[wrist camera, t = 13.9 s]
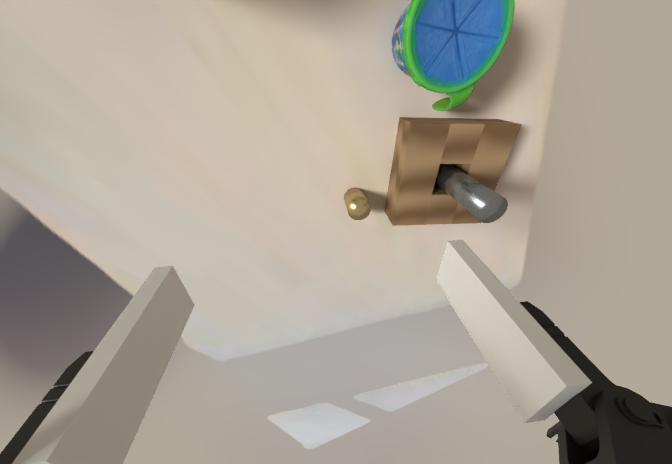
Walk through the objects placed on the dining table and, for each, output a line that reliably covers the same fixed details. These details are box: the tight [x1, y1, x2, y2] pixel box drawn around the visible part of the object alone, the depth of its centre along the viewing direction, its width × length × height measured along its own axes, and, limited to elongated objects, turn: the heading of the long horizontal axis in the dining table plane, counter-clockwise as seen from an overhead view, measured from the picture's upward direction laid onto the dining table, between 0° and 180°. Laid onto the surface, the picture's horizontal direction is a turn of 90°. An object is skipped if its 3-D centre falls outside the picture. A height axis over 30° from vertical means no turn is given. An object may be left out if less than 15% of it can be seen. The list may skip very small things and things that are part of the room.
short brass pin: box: [344, 188, 370, 220], centre depth 41 cm, size 4×4×5 cm
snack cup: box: [392, 0, 514, 111], centre depth 27 cm, size 16×10×10 cm
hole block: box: [385, 117, 521, 225], centre depth 39 cm, size 16×16×5 cm
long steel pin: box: [435, 164, 508, 223], centre depth 35 cm, size 4×4×15 cm
